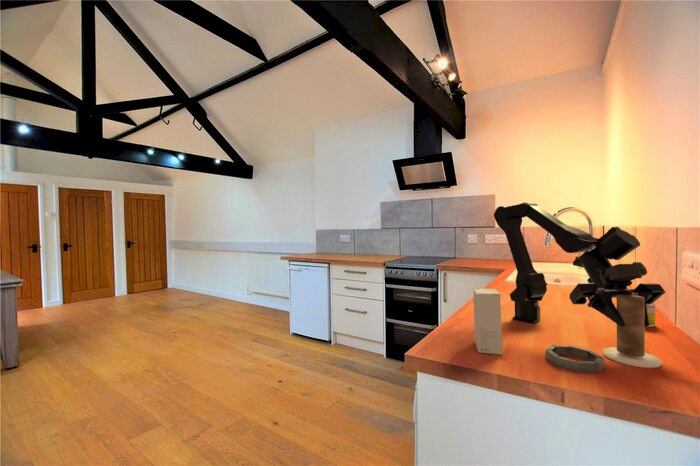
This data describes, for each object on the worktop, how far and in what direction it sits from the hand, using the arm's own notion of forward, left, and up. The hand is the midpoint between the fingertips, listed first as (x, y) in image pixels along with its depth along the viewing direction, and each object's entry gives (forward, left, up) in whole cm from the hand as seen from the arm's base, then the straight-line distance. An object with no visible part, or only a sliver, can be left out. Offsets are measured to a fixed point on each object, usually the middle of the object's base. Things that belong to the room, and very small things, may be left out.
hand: (635, 325), depth 70 cm
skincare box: (-26, -17, -8) cm, 32 cm away
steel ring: (-9, -11, -8) cm, 16 cm away
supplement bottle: (-3, +36, -8) cm, 37 cm away
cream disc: (-1, +1, -8) cm, 8 cm away
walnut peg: (-1, +1, -7) cm, 7 cm away
